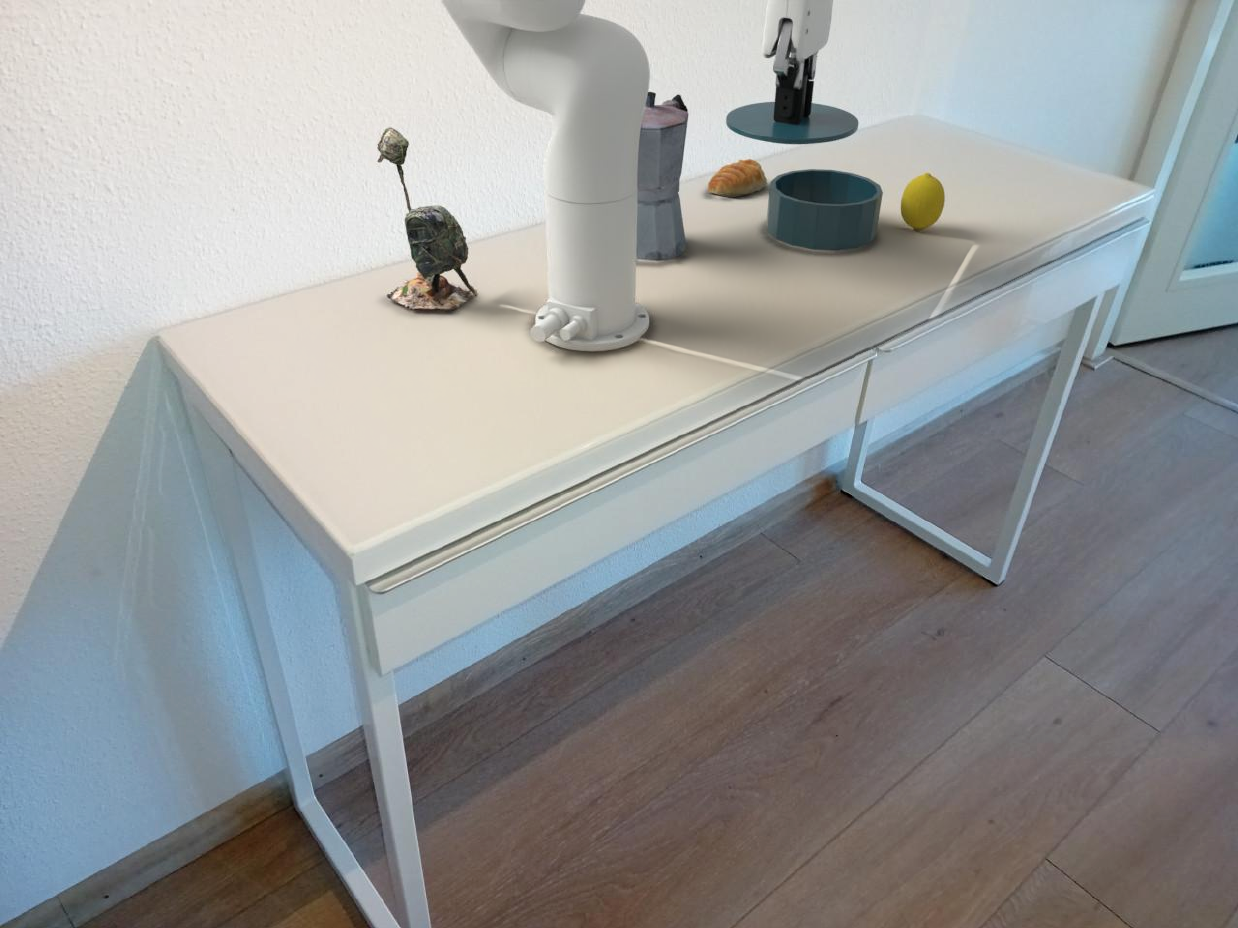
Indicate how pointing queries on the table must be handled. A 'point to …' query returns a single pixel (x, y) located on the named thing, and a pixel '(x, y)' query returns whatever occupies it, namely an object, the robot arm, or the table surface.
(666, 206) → the moka pot
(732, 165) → the pastry
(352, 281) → the table surface
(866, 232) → the pot
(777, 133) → the lid
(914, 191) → the lemon
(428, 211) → the stone sculpture
